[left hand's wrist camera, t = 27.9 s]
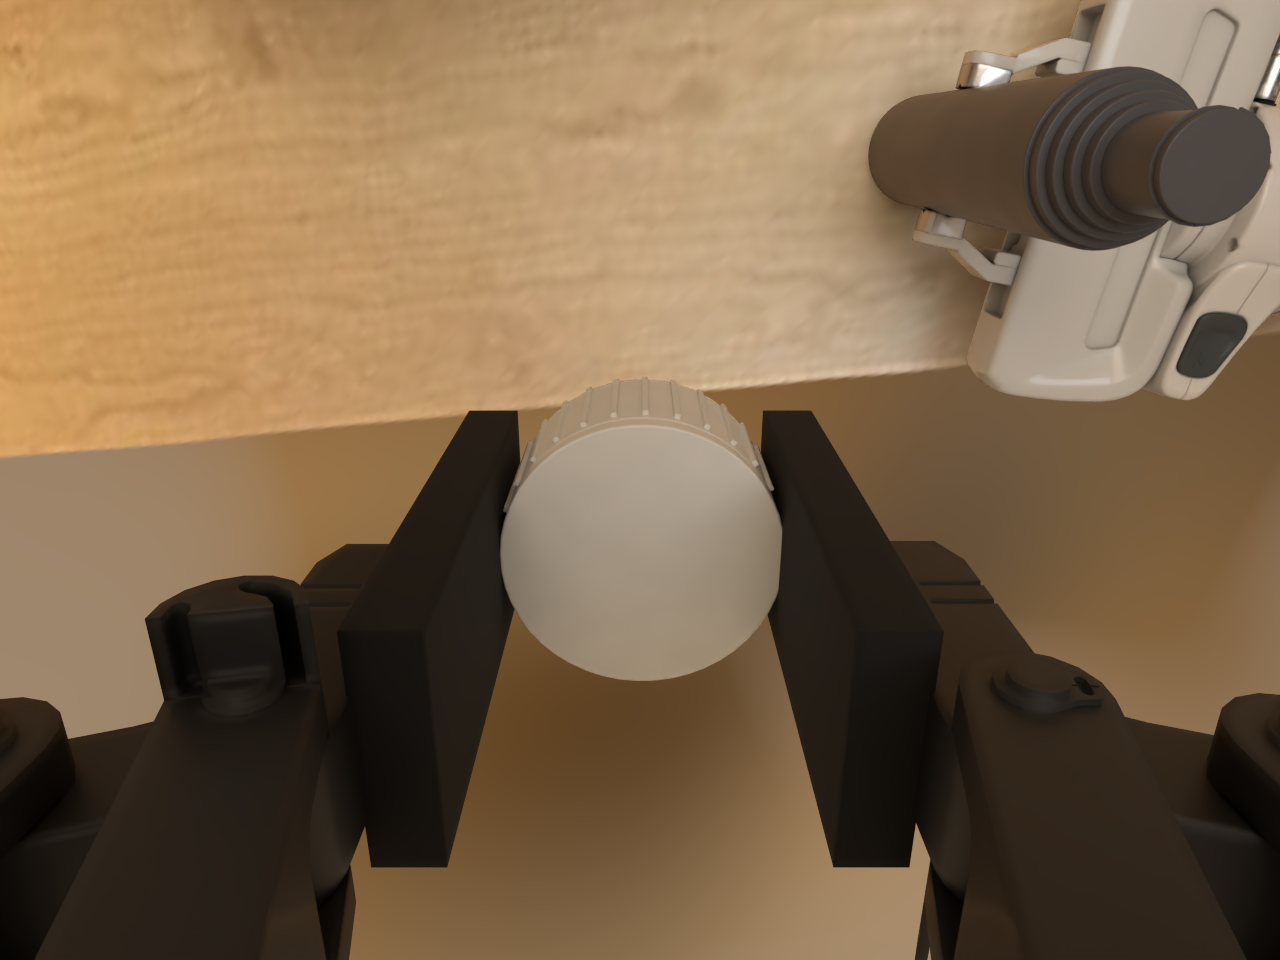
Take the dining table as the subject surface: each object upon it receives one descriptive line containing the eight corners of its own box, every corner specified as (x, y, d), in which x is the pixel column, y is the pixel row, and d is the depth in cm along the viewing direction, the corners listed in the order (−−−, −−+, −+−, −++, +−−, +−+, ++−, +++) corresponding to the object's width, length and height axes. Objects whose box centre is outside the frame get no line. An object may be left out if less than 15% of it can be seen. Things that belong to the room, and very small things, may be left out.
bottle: (937, 221, 47) (1234, 307, 23) (850, 178, 46) (1065, 223, 23) (992, 123, 45) (1371, 109, 22) (901, 76, 44) (1192, 10, 21)
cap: (818, 504, 14) (850, 569, 12) (634, 648, 15) (633, 732, 13) (651, 320, 13) (653, 357, 11) (464, 489, 14) (433, 552, 12)
